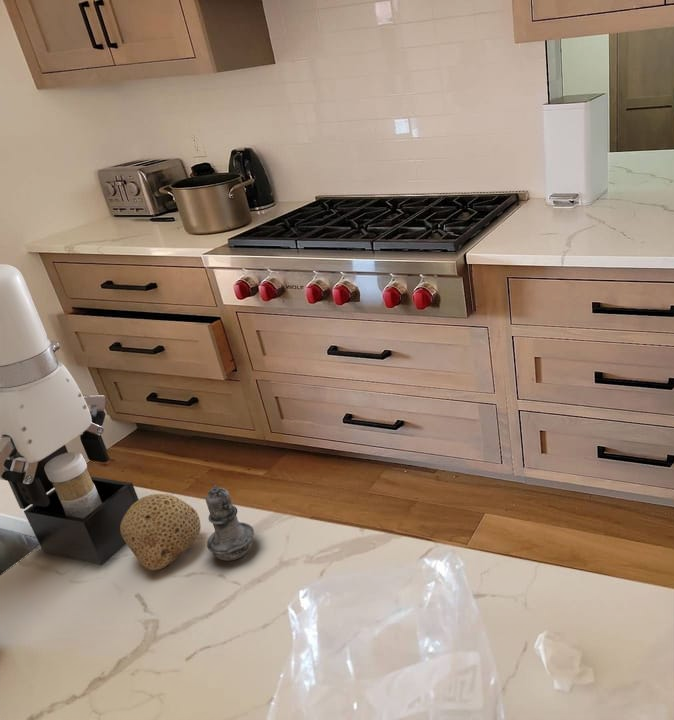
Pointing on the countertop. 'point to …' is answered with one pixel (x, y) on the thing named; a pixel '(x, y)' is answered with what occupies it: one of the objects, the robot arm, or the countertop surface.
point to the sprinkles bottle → (73, 484)
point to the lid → (39, 474)
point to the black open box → (84, 524)
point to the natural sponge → (159, 529)
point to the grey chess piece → (226, 527)
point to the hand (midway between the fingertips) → (71, 481)
